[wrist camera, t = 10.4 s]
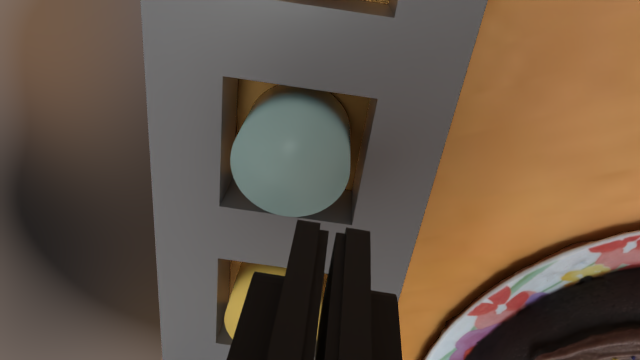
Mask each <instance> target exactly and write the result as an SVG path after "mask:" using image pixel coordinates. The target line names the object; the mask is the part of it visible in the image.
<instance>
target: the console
mask: <svg viewBox="0 0 640 360" xmlns="http://www.w3.org/2000/svg"><path fill="white" fill-rule="evenodd" d="M487 1H488V0H389V4H382V3H376V2H369V1H362V0H141V16H142V33H143V49H144V66H145V82H146V99H147V115H148V131H149V148H150V164H151V180H152V196H153V211H154V212H153V213H154V229H155V245H156V262H157V278H158V293H159V310H160V326H161V343H162V359H163V360H226V359H227V356H228V353H229V350H230V346H231V343H232V340H233V339H232V338H231V337H230V335H229V334H228V332H227V330H226V327H225V323H224V316H225V312H226V309H227V305H228V302H229V282H230V260H234V261H241V262H248V263H255V264H262V265H269V266H276V267H283V268H287V264H288V260H289V255H290V251H291V246H292V242H293V237H294V233H295V228H296V223H297V220H304V221H310V222H316V223H321V225H320V230H326V231H329V235H328V244H327V253H326V261H325V270H324V273H326V274H328V272H329V267H330V261H331V256H332V251H333V246H334V241H335V236H336V232H339V233H345V230H346V228H347V227H348V228H354V229H360V230H366V231H370V242H371V290H373V291H379V292H386V293H392V294H396V296H397V301H398V300H399V296H400V293H401V290H402V286H403V283H404V280H405V276H406V273H407V270H408V266H409V263H410V260H411V256H412V253H413V249H414V246H415V243H416V239H417V236H418V233H419V229H420V226H421V223H422V219H423V216H424V213H425V209H426V206H427V203H428V199H429V196H430V192H431V189H432V186H433V182H434V179H435V176H436V172H437V169H438V166H439V162H440V159H441V156H442V152H443V149H444V145H445V142H446V139H447V135H448V132H449V129H450V125H451V122H452V119H453V115H454V112H455V109H456V105H457V102H458V99H459V95H460V92H461V88H462V85H463V82H464V78H465V75H466V72H467V68H468V65H469V62H470V58H471V55H472V52H473V48H474V45H475V42H476V38H477V35H478V31H479V28H480V25H481V21H482V18H483V15H484V11H485V8H486V5H487ZM238 78H239V79H246V80H252V81H259V82H266V83H273V84H280V85H286V86H293V87H300V88H307V89H314V90H320V91H327V92H334V93H341V94H348V95H354V96H361V97H368V98H370V101H369V106H368V111H367V116H366V121H365V126H364V131H363V136H362V142H361V147H360V152H359V157H358V162H357V167H356V172H355V177H354V182H353V187H352V191H348V190H344V191H343V193H342V194H341V196H340V197H339V198H338V199H337V200H336V201H335V202H334V203H333V204H332V205H330V206H329V207H327V208H326V209H324V210H322V211H320V212H318V213H315V214H312V215H308V216H301V217H287V216H281V215H276V214H273V213H270V212H268V211H265V210H263V209H261V208H260V207H258V206H256V205H255V204H254V203H252V202H251V201H250V200H249V199H248V198H247V197H246V196H245V195H244V194H243V193H242V192H241V190H240V189H239V187H238V186H237V184H236V182H235V180H234V177H233V174H232V171H231V165H230V156H231V150H232V146H233V143H234V141H235V139H236V120H237V97H238ZM316 344H317V340H316ZM315 353H316V347H315ZM314 360H315V356H314Z"/></svg>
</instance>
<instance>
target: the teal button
mask: <svg viewBox="0 0 640 360" xmlns="http://www.w3.org/2000/svg"><path fill="white" fill-rule="evenodd" d="M230 165H231V171H232V174H233V177H234V180H235V182H236V184H237V186H238V187H239V189H240V190H241V192H242V193H243V194H244V195H245V196H246V197H247V198H248V199H249V200H250V201H251V202H252V203H254V204H255V205H256V206H258V207H260V208H261V209H263V210H265V211H268V212H270V213H273V214H276V215H281V216H287V217H301V216H308V215H312V214H315V213H318V212H320V211H322V210H324V209H326V208H327V207H329V206H330V205H332V204H333V203H334V202H335V201H336V200H337V199H338V198H339V197H340V196H341V194H342V193H343V191H344V190H345V188H346V185H347V183H348V180H349V176H350V123H349V119H348V116H347V114H346V112H345V110H344V108H343V106H342V105H341V103H340V102H339V101H338V100H337V99H336V98H335V97H334V96H333V95H332V94H331V93H329V92H327V91H320V90H314V89H307V88H300V87H293V86H286V85H277V86H275V87H273V88H270V89H269V90H267V91H266V92H264V93H263V94H262V95H261V96H260V97H259V98H258V99H257V100H256V102H255V103H254V105H253V106H252V108H251V110H250V112H249V114H248V116H247V118H246V120H245V121H244V123H243V125H242V127H241V129H240V131H239V133H238V135H237V137H236V139H235V141H234V143H233V146H232V150H231V156H230Z"/></svg>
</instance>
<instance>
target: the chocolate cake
mask: <svg viewBox="0 0 640 360" xmlns="http://www.w3.org/2000/svg"><path fill="white" fill-rule="evenodd" d="M423 360H640V230H637V231H632V232H621V233H619V234H617V235H614V236H611V237H608V238H605V239H601V240H597V241H586V242H579V243H575V244H571V245H569V246H567V247H565V248H563V249H561V250H559V251H558V252H556V253H554V254H552V255H549V256H547V257H545V258H543V259H542V260H540V261H538V262H536V263H533V264H531V265H529V266H527V267H524V268H522V269H520V270H519V271H517V272H516V273H514V274H512V275H511V276H509V277H507V278H505V279H504V280H501V281H500V282H499V283H498V284H496V285H495V286H493V287H491V288H490V289H489V290H487V291H486V292H484V293H483V294H482V295H480V296H479V297H478V298H476V299H475V300H474V301H473V302H472V303H471V304H470V305H469V306H468V307H467V308H465V309H464V310H463V311H462V312H461V313H460V314H459V315H457V316H456V317H454V318H452V319H450V320H448V321H447V322H446V325H445V329H444V330H442V332H441V334H440V337H439V338H438V340H437V341H436V342H435V343H434V344H433V345H431V347H430V349H429V351H428V353H427V355H426V356H425V358H424V359H423Z"/></svg>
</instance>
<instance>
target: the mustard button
mask: <svg viewBox="0 0 640 360" xmlns="http://www.w3.org/2000/svg"><path fill="white" fill-rule="evenodd" d="M286 269H287V268H283V267H276V266H269V265H262V264H255V263H248V262H242V263H241V265H240V268H239V271H238V274H237V277H236V280H235V284H234V287H233V290H232V293H231V296H230V299H229V302H228V305H227V309H226V312H225V316H224V323H225V327H226V330H227V332H228V334H229V335H230V337H231V338H232V339H233V337H234V334H235V330H236V327H237V324H238V321H239V317H240V314H241V311H242V308H243V304H244V301H245V298H246V295H247V291H248V288H249V285H250V282H251V278H252V276H253V273H254V272H262V273H268V274H274V275H280V276H285V273H286ZM323 286H324V278H323ZM322 300H323V287H322V295H321V304H320V313H319V320H320V314H321V308H322ZM318 327H319V321H318ZM317 336H318V330H317ZM316 340H317V338H316Z"/></svg>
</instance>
